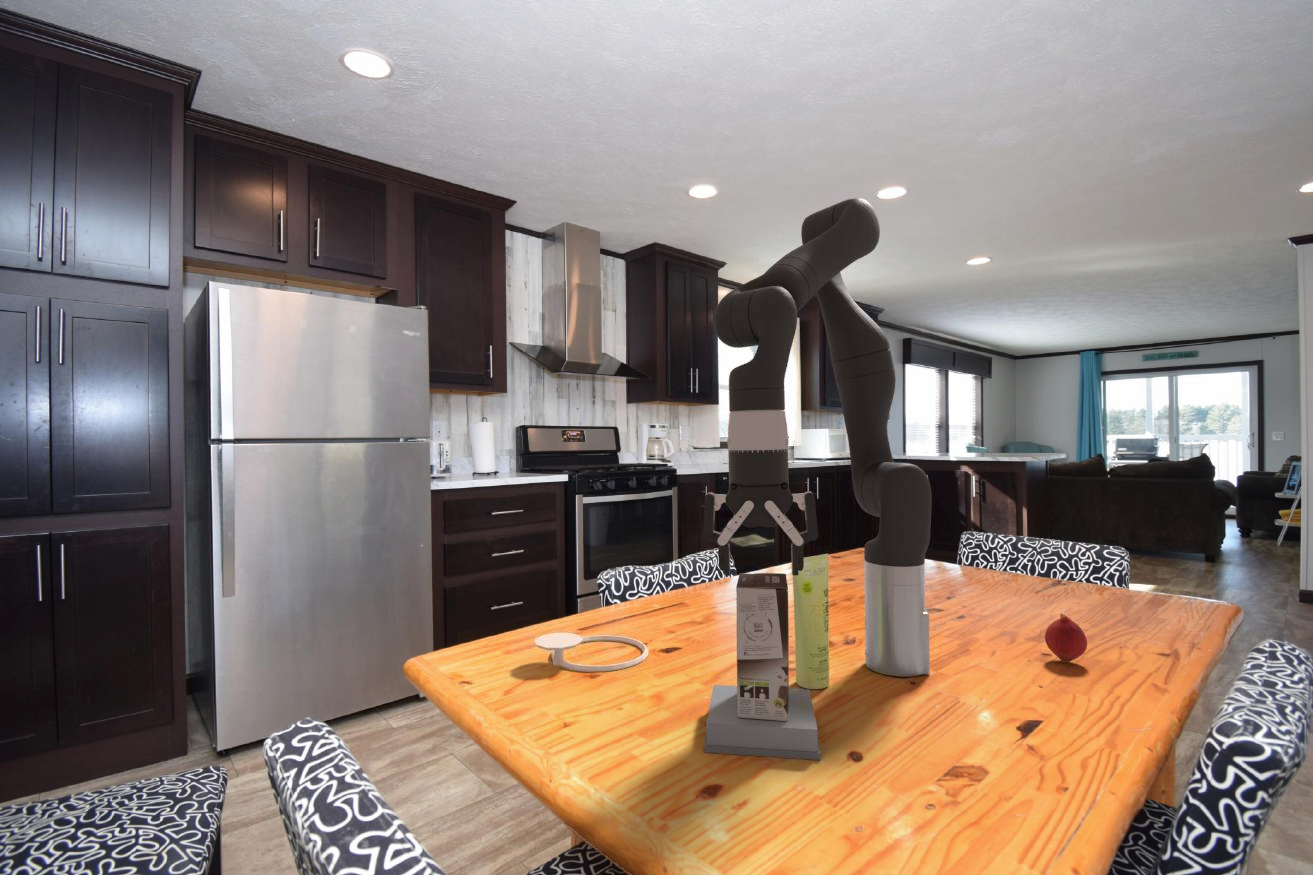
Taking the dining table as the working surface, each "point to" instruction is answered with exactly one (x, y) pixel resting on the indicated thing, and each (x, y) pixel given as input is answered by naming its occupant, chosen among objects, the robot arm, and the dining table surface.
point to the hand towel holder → (571, 640)
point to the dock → (762, 728)
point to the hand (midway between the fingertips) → (760, 574)
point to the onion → (1065, 639)
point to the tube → (812, 623)
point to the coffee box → (762, 646)
